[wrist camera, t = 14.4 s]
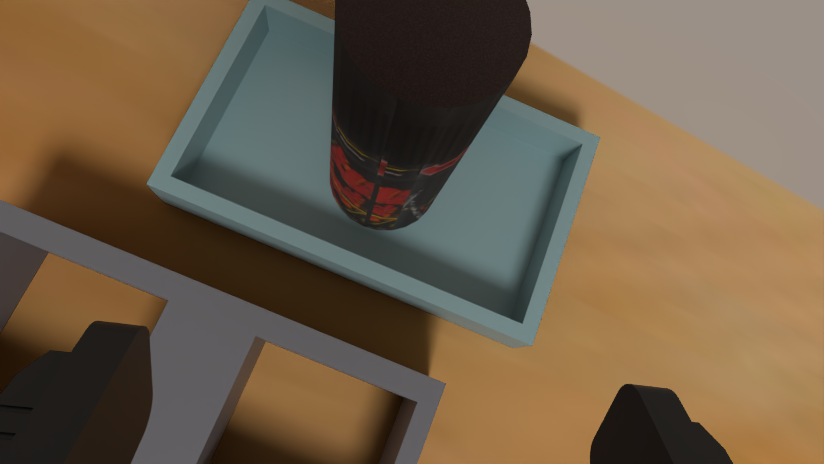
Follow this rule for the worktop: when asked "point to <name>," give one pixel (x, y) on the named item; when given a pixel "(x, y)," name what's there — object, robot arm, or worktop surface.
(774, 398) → the worktop surface
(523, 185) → the tray
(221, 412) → the holder
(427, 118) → the deodorant
